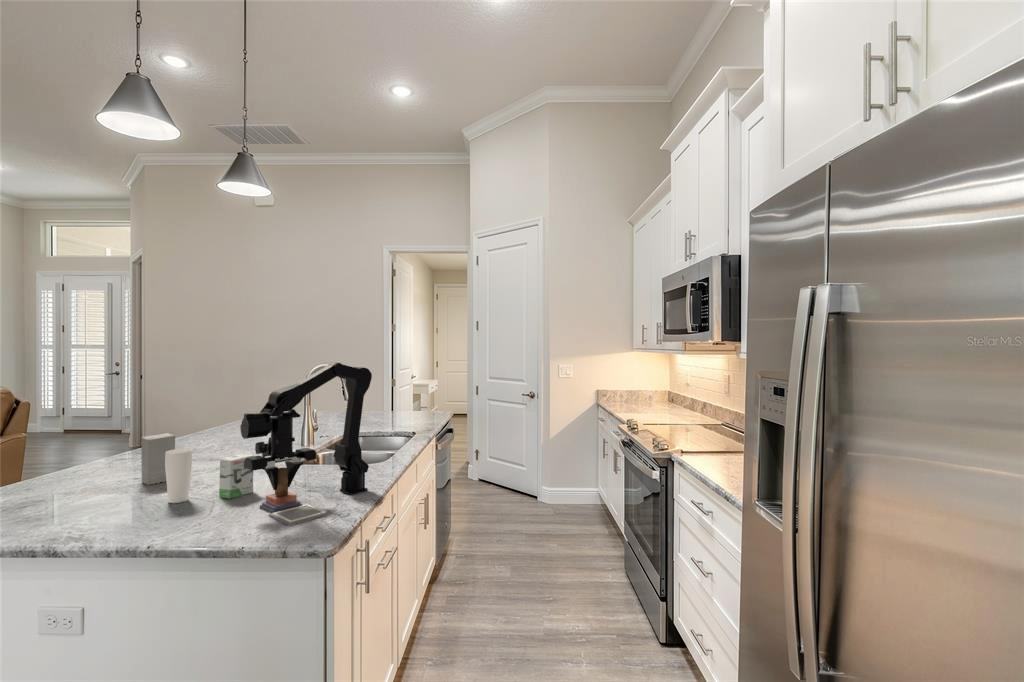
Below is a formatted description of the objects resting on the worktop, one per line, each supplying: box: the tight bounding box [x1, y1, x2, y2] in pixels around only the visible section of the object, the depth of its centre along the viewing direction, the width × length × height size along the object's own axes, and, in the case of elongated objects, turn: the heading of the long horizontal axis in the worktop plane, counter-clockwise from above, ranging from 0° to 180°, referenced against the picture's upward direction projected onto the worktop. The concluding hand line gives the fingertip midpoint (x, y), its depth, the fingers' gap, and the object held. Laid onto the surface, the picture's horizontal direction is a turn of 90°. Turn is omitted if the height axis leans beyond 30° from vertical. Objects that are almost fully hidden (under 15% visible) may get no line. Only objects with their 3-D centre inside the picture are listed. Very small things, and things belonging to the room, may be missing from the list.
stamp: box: [265, 467, 298, 507], centre depth 145 cm, size 6×6×10 cm
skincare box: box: [140, 432, 176, 486], centre depth 173 cm, size 8×7×16 cm
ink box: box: [218, 453, 254, 500], centre depth 158 cm, size 9×5×12 cm, turn 159°
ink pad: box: [259, 500, 303, 514], centre depth 145 cm, size 8×8×2 cm
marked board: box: [268, 503, 330, 526], centre depth 139 cm, size 11×11×1 cm
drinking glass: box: [165, 448, 193, 504], centre depth 151 cm, size 7×7×15 cm
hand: (281, 488), depth 145 cm, fingers closed on stamp, 3 cm apart
